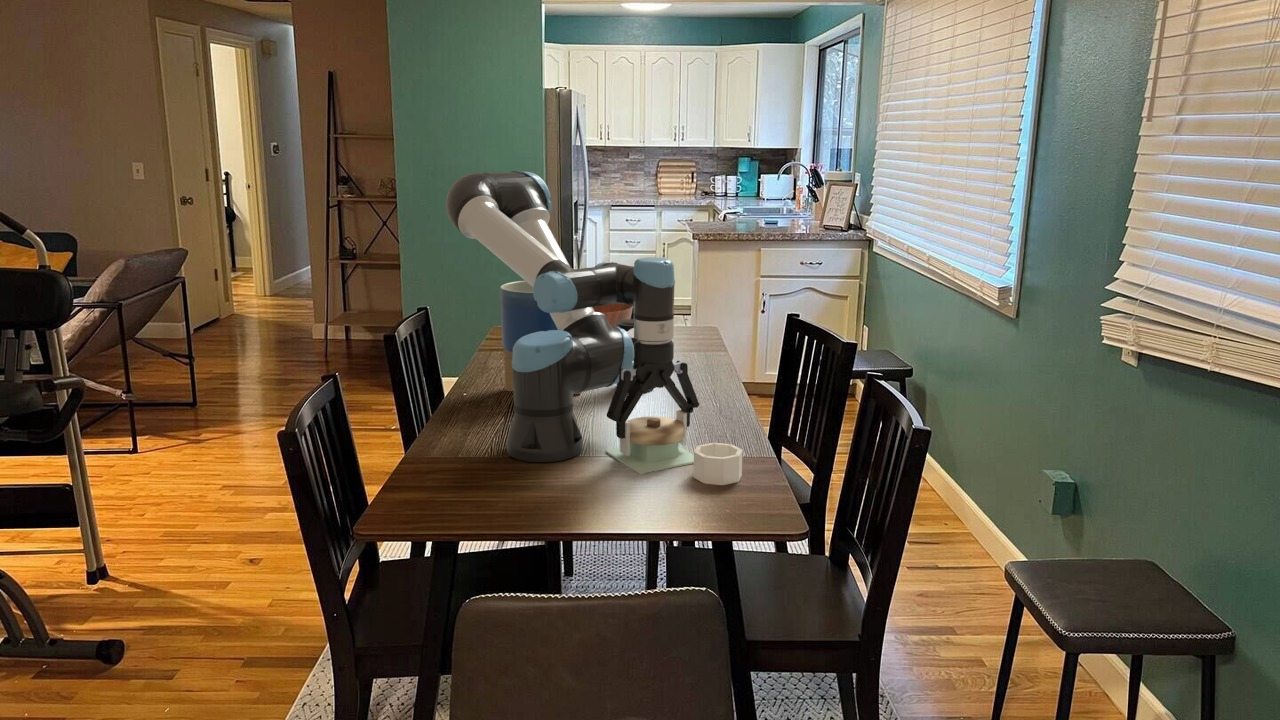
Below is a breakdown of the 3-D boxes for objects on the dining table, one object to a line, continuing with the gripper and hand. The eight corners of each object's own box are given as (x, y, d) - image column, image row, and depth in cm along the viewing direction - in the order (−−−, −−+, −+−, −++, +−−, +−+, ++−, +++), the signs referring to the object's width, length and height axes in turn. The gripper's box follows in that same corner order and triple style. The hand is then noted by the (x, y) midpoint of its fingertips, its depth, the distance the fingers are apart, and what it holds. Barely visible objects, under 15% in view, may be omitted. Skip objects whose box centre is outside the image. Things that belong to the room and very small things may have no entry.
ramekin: (711, 487, 165) (711, 461, 164) (686, 473, 172) (686, 447, 171) (749, 479, 169) (750, 453, 168) (723, 465, 176) (724, 440, 175)
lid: (641, 449, 172) (641, 432, 171) (612, 431, 182) (611, 416, 182) (696, 439, 178) (696, 423, 177) (664, 422, 188) (664, 407, 187)
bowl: (561, 333, 295) (560, 297, 292) (638, 335, 291) (638, 299, 289) (542, 350, 271) (541, 312, 268) (626, 353, 267) (626, 314, 265)
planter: (519, 380, 238) (515, 278, 232) (591, 384, 234) (590, 280, 228) (492, 400, 220) (488, 290, 214) (570, 405, 216) (568, 293, 210)
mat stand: (639, 474, 172) (639, 451, 171) (605, 452, 184) (605, 431, 183) (703, 461, 179) (703, 439, 178) (666, 441, 190) (666, 420, 189)
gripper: (606, 351, 167) (607, 464, 172) (718, 337, 178) (716, 443, 183) (587, 343, 173) (589, 452, 178) (697, 330, 185) (695, 433, 190)
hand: (653, 448), depth 181 cm, fingers closed on lid, 12 cm apart
